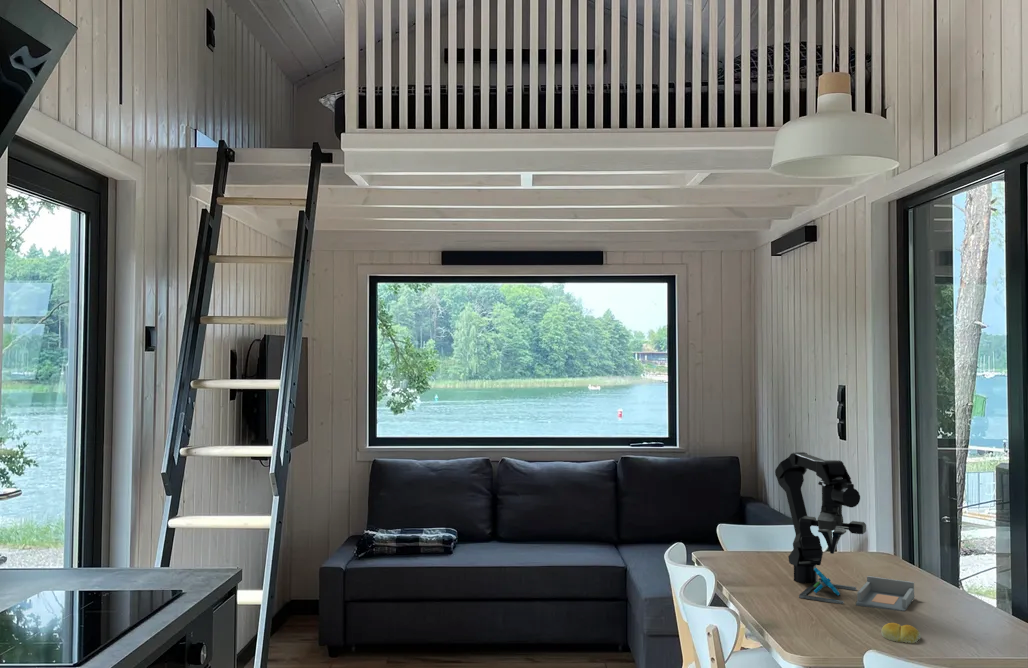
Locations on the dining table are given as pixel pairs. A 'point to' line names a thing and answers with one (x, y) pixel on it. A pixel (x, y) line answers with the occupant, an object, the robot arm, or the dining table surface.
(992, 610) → the dining table surface
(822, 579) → the gear
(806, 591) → the frame
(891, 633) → the bread roll
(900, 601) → the grey open tray
